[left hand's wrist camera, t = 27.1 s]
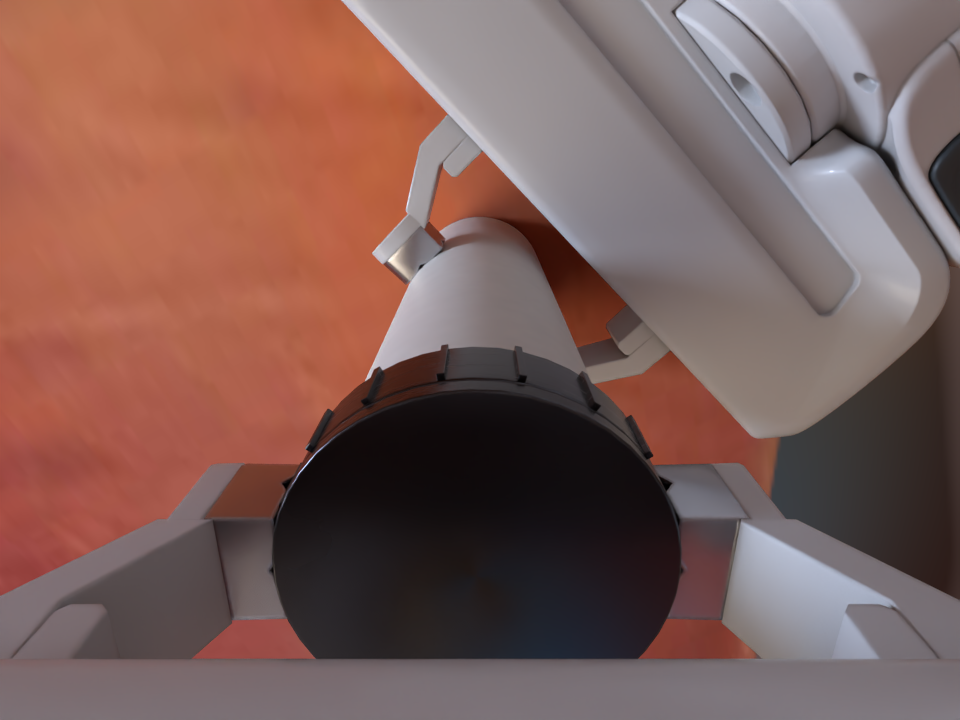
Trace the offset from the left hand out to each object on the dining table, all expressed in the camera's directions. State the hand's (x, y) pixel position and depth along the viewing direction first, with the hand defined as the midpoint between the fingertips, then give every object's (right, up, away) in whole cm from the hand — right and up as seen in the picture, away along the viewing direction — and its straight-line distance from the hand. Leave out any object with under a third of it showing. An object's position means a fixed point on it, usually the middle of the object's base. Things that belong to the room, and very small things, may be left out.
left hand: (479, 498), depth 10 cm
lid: (0, -1, -1) cm, 2 cm away
